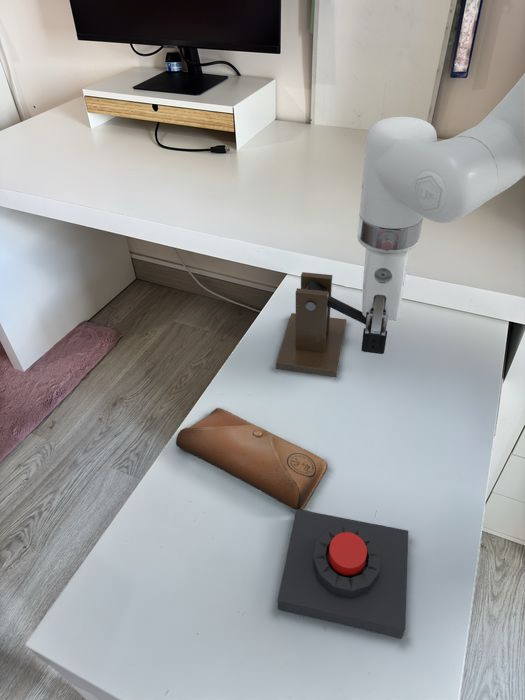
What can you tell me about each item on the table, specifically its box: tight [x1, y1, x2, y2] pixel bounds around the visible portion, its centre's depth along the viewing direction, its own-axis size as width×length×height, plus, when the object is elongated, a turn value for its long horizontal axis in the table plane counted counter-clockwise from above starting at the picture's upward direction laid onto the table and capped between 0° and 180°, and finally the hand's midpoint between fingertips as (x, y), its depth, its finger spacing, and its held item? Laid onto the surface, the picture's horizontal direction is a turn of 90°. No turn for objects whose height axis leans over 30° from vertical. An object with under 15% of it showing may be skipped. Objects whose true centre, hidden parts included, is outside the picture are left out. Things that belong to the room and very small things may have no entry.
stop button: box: [329, 532, 367, 576], centre depth 49 cm, size 4×4×2 cm
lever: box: [305, 279, 373, 326], centre depth 72 cm, size 12×5×2 cm, turn 77°
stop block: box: [277, 509, 409, 639], centre depth 51 cm, size 12×10×4 cm
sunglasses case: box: [175, 407, 328, 511], centre depth 62 cm, size 18×7×7 cm
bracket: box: [275, 271, 348, 377], centre depth 74 cm, size 9×12×12 cm
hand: (374, 337), depth 74 cm, fingers closed on lever, 5 cm apart
